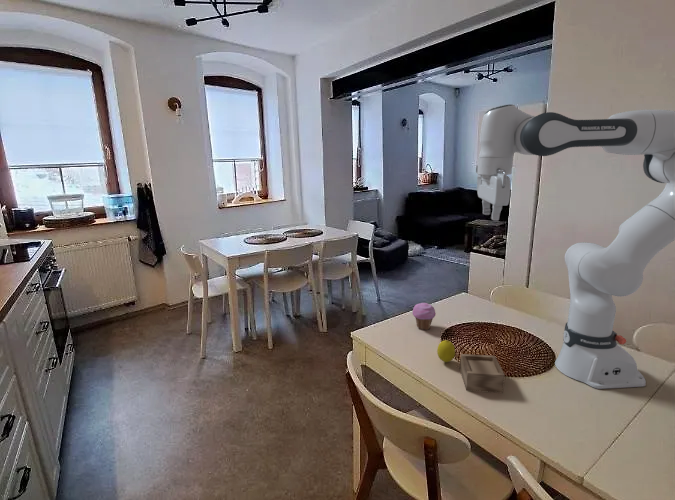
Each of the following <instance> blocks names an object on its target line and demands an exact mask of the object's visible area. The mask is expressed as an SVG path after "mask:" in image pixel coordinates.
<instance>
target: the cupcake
mask: <svg viewBox="0 0 675 500" xmlns="http://www.w3.org/2000/svg"><path fill="white" fill-rule="evenodd" d="M436 313H437V312H436V309H435V308H434V306H432V304H430V303H427V302H420V303H417V304H415V305H414V307H413V309H412V316H413V317H414V319H415V322H416V327H417V328H418V329H420V330H425V331H428V330H430V329H431V325H432V322H433V319H434V318H435V317H436Z"/></svg>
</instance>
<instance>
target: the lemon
mask: <svg viewBox="0 0 675 500" xmlns="http://www.w3.org/2000/svg"><path fill="white" fill-rule="evenodd" d="M436 353H437V356H438V358H439V360H440V361H441V362H444V363H450V362H451V361H453V359H454V358H455V355H456V349H455V345H454V344H453V342H452V341H450V340H447V339H446V340H442V341H440V342H439V344H438V345H437V351H436Z"/></svg>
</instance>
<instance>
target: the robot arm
mask: <svg viewBox="0 0 675 500" xmlns="http://www.w3.org/2000/svg"><path fill="white" fill-rule="evenodd" d="M480 125H481V126H480V132H479V133H480V134H479V145H480V150H479V154H478V157H477V159H478V160H477V165H476V167H475V174H477V177H476V179H477V180H476V181H477V182H476V185H477V187H476V188H477V190H476V192H477V197H478V198H479V199H481V200H482V201H481V203H482V215H485V216H489V215H491V216H490V219H491V220H492V221H499V220H500V216H501V211H502V210H503V206H508V205H509V204H510V197H511V179H510V176H507V175H512V172H513V161H514V154H515V153H517V154H521V155H529V156H538V157H548V156H552V155H555V154H558V153H560V152H562V151H564V150H567V149H570V148H571V149H572V148H585V147H586V148H588V147H593V148H594V147H600V148H602V149H603V150H604V151H605V152H606V153H609V154H614V155H623V156H624V155H625V156H626V155H627V156H633V155H634V156H635V155H636V156H637V155H638V156H640V155H643V157H644V159H643V163H642V167H643V169H642V170H643V172H644V175H645V176H646V177H647V178H649V179H650V180H652V181H654V182H656V183H660V184H665V185H664V189H663V190H662V191H661V193H660V194H659V195H658V196H657V197H655V198H654V199H652V200H650V202H648V203H647V204H645V205H644V206H643V207H641V208H640V209H639V210H638V211H637V212H636V211H635V213H633V214H632V215H631V216H630V217H628V218H626V220H624V221H623V222H622V223H621V224H620V225H619V227H618V233H617V236H616V237H615V238H614V239H613V241H611V243H610V244H609V245H608V246H606V247H604V245H603V246H602V245H600V244H598V243H593V242H584V241H583V242H577V243H574V244H572V245H570V247H568V249H567V250H566V252H565V253H564V264H565V266H566V269H567V275H568V285H569V296H570V297H569V299H570V300H569V309H568V316H567V322H565V326H564V331H563V342H562V347H561V349H560V351H559V354H558V356H557V358H556V359H555V360H554V361H555V362H554V364H555V367H556V368H557V369H558V370H559V372H561V374H563V375H565V376H567V377H569V378H571V379H573V380H576V381H578V382H582V383H584V384H587V385H588V386H590V387H592V388H593V389H597V390H599V389H600V390H601V389H602V390H603V389H620V388H621V389H622V388H636V387H637V388H640V387H646V383H647V382H646V379H645V377H644V375H643V374H642V373H641V372H640V371H639V370H638V365H637V362H636V360H635V358H634V357H633V356H632V354H631V353H629V352H628V351H627V350H626V349H625V348H623V347H622V346H621V345H625V344H626V342H627V339H626V338H625V337H623V336H622V335H619V334H618V333H617V332H616V331H614V330H613V328H614V324H615V320H616V319H615V317H616V312H617V306H616V303H615V302H614V298H613V296H614V297H627V296H629V295H633V294H634V293H636V292H637V291H638V290H639V288H641V286H642V284H643V281H644V271H645V270H646V268H647V267H648V264H649V263H650V262H651V261H652V259H654V257H656V255H657V254H658V253H659V252H661V251H662V250H663V249H665V248H666V247H667V246H669V245H670V244H671V243H673V242H674V241H675V110H670V109H669V110H668V109H636V110H635V109H634V110H628V111H623V112H618V113H614V114H612V115H610V116H609V117H608V118H604V119H603V118H602V119H601V118H600V119H597V118H596V119H594V118H593V119H574V118H570V117H567V116H565V115H563V114H561V113H558V112H554V111H553V112H543V113H539V114H538V115H536V116H535V115H531V114H529V113H526V112H524V111H522V110H520V109H519V108H518V107H516V106H515V104H504V105H500V106H496V107H492V108H490V109H488V110H487V111H486V112H485V113H484V115H483V116H482V120H481V124H480ZM491 205H492V207H491ZM491 208H492V210H491ZM491 211H492V212H491ZM619 344H620V345H619Z"/></svg>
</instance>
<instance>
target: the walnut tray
mask: <svg viewBox="0 0 675 500" xmlns="http://www.w3.org/2000/svg"><path fill="white" fill-rule="evenodd" d="M459 363H460V364H459V372H460V375H461V379H462V381H463V384H464V388H465V390H466V391H469V392H480V393H481V392H485V393H498V394H499V393H500V394H503V393H504V386H505V385H504V384H505V376H506V375H505V373H504V371H503V368H502V367H501V364H500V363H499V361H498V358H497V357H496V356H495V355H487V354H469V353H468V354H467V353H464V354H463V353H461V354H460V361H459Z"/></svg>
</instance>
